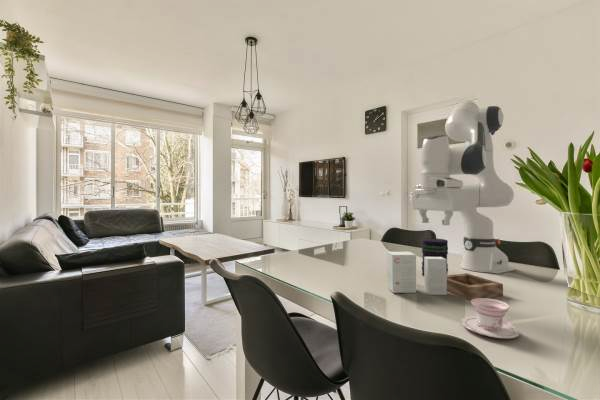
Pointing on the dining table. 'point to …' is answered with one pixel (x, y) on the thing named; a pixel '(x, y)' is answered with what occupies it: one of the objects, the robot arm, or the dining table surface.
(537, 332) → the dining table surface
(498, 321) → the teacup
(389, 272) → the small box
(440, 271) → the skincare box
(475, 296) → the wooden tray
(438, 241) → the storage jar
